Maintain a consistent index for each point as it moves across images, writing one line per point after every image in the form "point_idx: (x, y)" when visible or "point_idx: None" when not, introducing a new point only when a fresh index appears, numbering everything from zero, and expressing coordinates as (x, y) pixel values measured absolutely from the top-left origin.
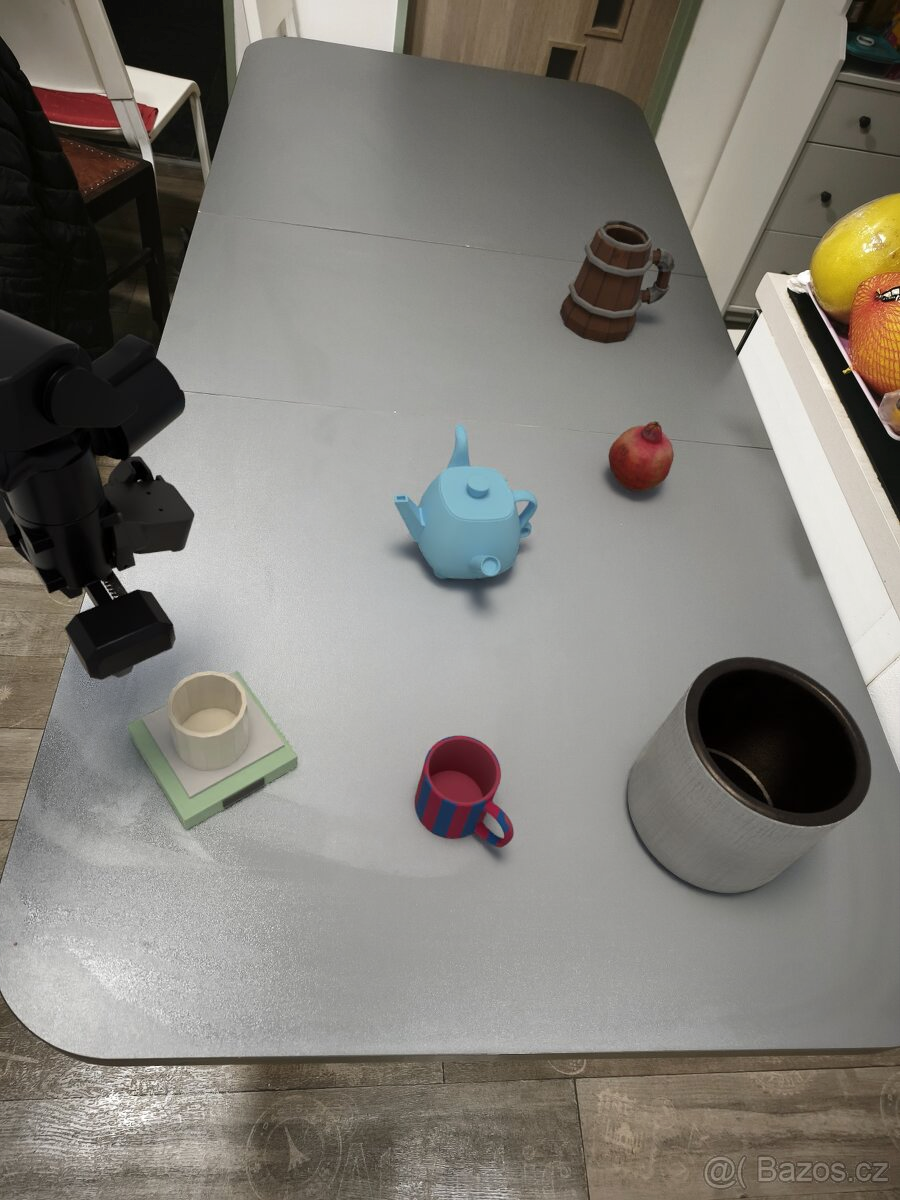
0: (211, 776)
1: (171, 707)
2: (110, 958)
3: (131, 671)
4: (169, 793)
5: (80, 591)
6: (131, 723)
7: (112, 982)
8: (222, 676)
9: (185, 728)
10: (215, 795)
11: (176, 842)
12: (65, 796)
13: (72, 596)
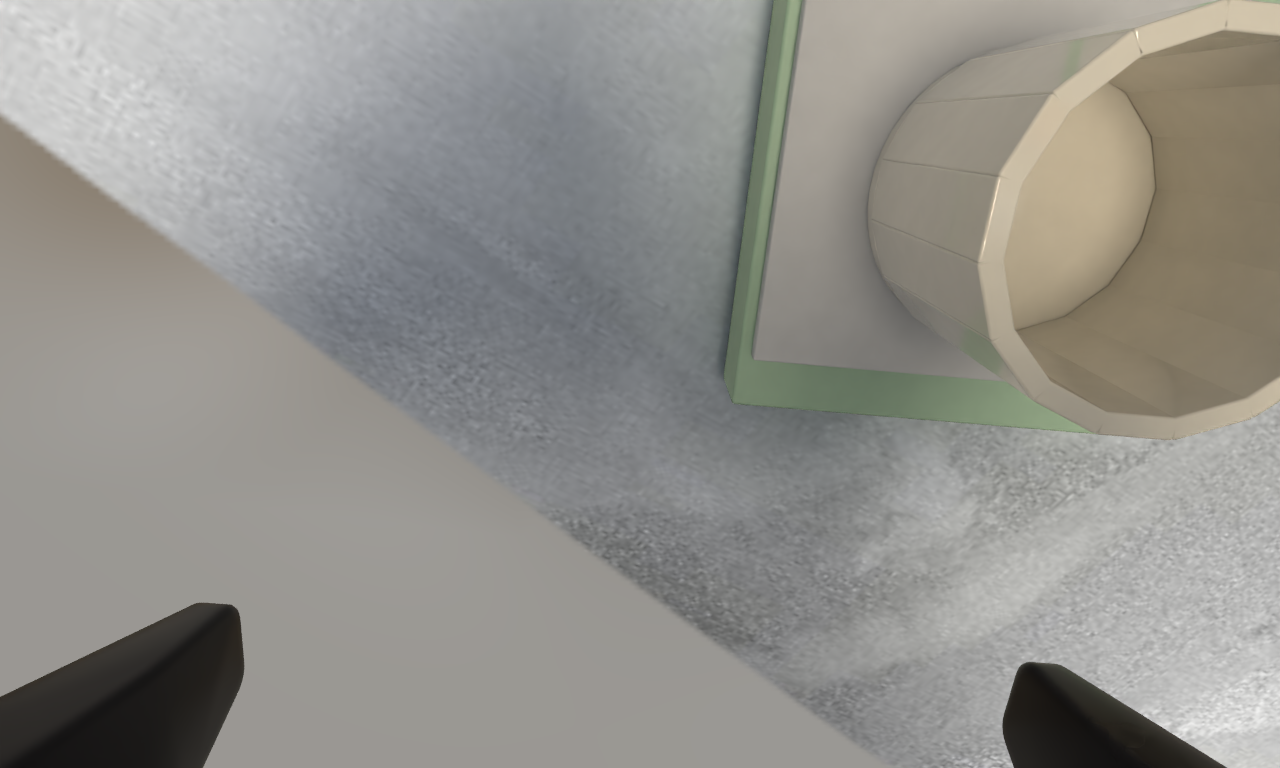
0: None
1: (1073, 397)
2: (1215, 698)
3: (1067, 670)
4: (1051, 426)
5: (218, 638)
6: (739, 389)
7: (1260, 716)
8: (1132, 60)
9: (1220, 407)
10: None
11: (1119, 450)
12: (778, 600)
13: (231, 674)
